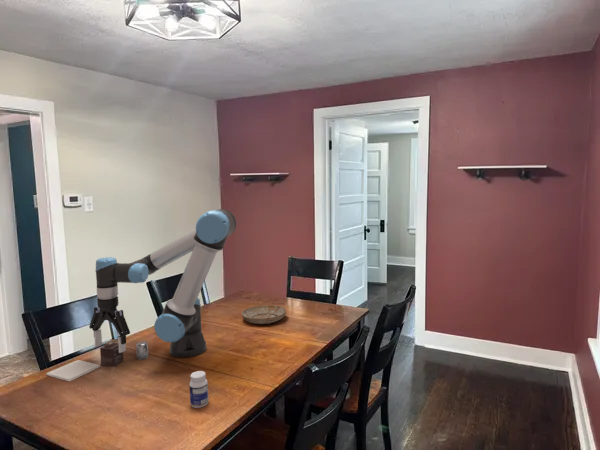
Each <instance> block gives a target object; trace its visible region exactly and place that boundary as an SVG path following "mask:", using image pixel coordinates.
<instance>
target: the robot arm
mask: <svg viewBox="0 0 600 450" xmlns="http://www.w3.org/2000/svg"><path fill="white" fill-rule="evenodd" d="M236 229H237V219H236V217H235V215H234V213H232V212H231V211H229V210H227V209H224V208H223V209H222V208H219V209H214V210H213V209H212V210H208V211H206V212H204V213H203V214H202V215H201V216H199V218H198V219H197V221H196V224H195V228H193V229H192V230H191V231H188V232H187V233H185V234H184V235H183V234H182V236H180V237H177V238H176V239H174V240H172V241H171V242H169V243H168V244H165V245H163V246H162V247H160V248H158V249H157V250H155V251H153V252H151V253H149V254H148V255H146V256H144V257H142V258H140V259H138V260H134V261H133V262H130V263H127V262H125V263H119V262H118V261H117V258H116V257H112V256H111V257H110V256H109V257H106V256H105V257H100V258H97V259H96V261H95V278H96V297H97V300H96V302H97V306H96V307H94V308H93V313H92V318H91V321H90V324H89V326H88V327H89V329H90V330H91V329H92V331H93V338H94V347H95V348H98V347H101V346H103V341H102V339H103V337H102V335H103V334H102V328H101V327H102V325H103V323H104V322H105V321H108V322H110V323H112V325H113V327H114V328H115V330H116V332H117V334H118V335H119V336H117V339H118V345H119V353H121V352H123V353H124V352H125V351H127V350H126V347H127V346H126V344H127V336H128V335H130V334H131V331H130V328H129V326H128V322H127V321H126V318H125V315H124V310H123V309H121V310H120V309H119V310H118V308H117V307H118V306H119V296H118V295H119V290H118V284H119V283H123V284H124V283H127V284H140V283H141V284H142V283H145V282H147V279H148V278H149V276H150V275H152V274H154V273H156V272H157V271H159V270H161V269H162V268H164V267H166V266H168V265H170V264H172V263H173V262H175V261H177V260H178V259H181V258H182V257H185V256H186V255H188V254H189V253H191V254H190V257H189V259H188V260H187V263H186V266H185V268H184V271H183V273H182V275H181V278H180V280H179V283H178V284H177V288H176V289H175V292H174V293H173V297H172V298H171V299H168V300H167V301H166V303H165V306H164V308H163V310H162V313H161V314H160V315H159V316H158V317H157V318H156V319H155V322H154V325H153V327H154V331H155V334H156V336H157V337H158V338H159V339H161V340H162V341H163V342H166V343H170V345H169V354H170V355H172V357H175V358H191V357H195V356H198V355H200V354H203V353H204V352H205V351H206V350H207V341H206V340H205V337H204V334H203V332H202V316H201V315H202V313H201V312H202V311H201V308H202V306H201V305H202V304H201V300H200V298H199V295H200V292H201V290H202V288H203V285H204V283H205V281H206V279H207V276H208V273H209V271H210V269H211V267H212V264H213V262H214V260H215V258H216V255H217V253H218V252H220V251H222V250H223V249H224V246H225V245H226V243H227V240H228V237H230V236H232V235H233V233H234V232H235V231H236Z"/></svg>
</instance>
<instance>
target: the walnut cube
mask: <svg viewBox="0 0 600 450" xmlns="http://www.w3.org/2000/svg"><path fill="white" fill-rule="evenodd" d="M109 343H118V338H117V339H116V338H113V339H110V340H109V341H107V342H106V343H104V346H105V345H107V344H109Z"/></svg>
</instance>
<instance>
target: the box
mask: <svg viewBox="0 0 600 450" xmlns="http://www.w3.org/2000/svg"><path fill="white" fill-rule="evenodd" d="M99 349H100V350H99V351H100V352H99V353H100V367H101V366H102V367H116V366H118V365H119V364H120V363H122V362H123V361H124V352H121V353H119V345H118V343H109V344H107V345H105V344H104V345H102V347H101V346H100V348H99Z"/></svg>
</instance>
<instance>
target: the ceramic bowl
mask: <svg viewBox="0 0 600 450" xmlns="http://www.w3.org/2000/svg"><path fill="white" fill-rule="evenodd" d="M286 314H287V309H286V308H285V307H282V306H279V305H272V304H271V305H269V304H267V305H266V304H265V305H264V304H263V305H256V306H250V307H248V308H246V309H243V310H242V311H241V317H242V318H243V319H244V321H247V322H248V323H252V324H256V325H266V324H267V325H268V324H272V323H276V322H279V321H280V320H281V319H283V318H285V316H286Z"/></svg>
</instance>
